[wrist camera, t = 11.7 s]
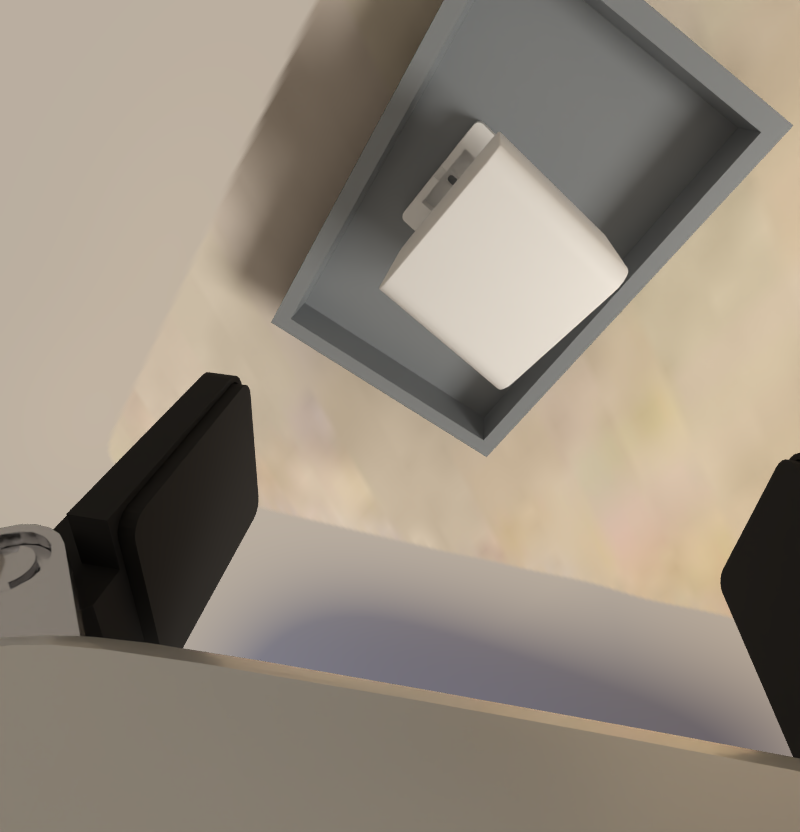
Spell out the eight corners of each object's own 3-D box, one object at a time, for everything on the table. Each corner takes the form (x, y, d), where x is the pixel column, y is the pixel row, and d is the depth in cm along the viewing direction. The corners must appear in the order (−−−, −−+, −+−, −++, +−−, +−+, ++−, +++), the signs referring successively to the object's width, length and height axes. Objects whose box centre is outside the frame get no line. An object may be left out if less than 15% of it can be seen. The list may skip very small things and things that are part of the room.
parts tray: (504, -91, 23) (505, -116, 20) (758, 119, 25) (793, 125, 22) (291, 300, 33) (271, 322, 30) (487, 425, 35) (486, 456, 32)
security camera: (498, 307, 30) (498, 397, 22) (398, 218, 29) (356, 278, 20) (591, 214, 27) (634, 276, 19) (485, 109, 26) (479, 125, 17)
